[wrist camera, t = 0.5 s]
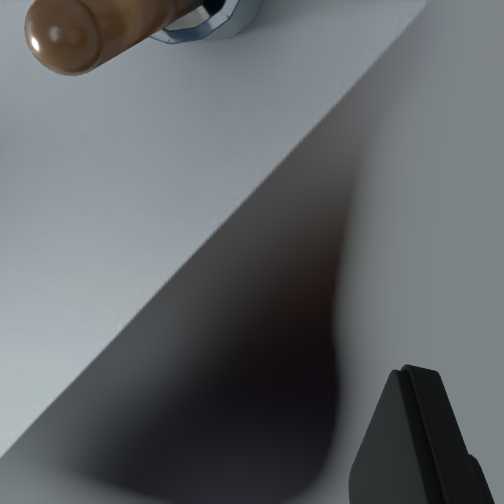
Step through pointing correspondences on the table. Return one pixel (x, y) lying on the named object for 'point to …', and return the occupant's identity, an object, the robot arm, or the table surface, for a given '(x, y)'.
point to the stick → (95, 29)
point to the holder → (211, 22)
